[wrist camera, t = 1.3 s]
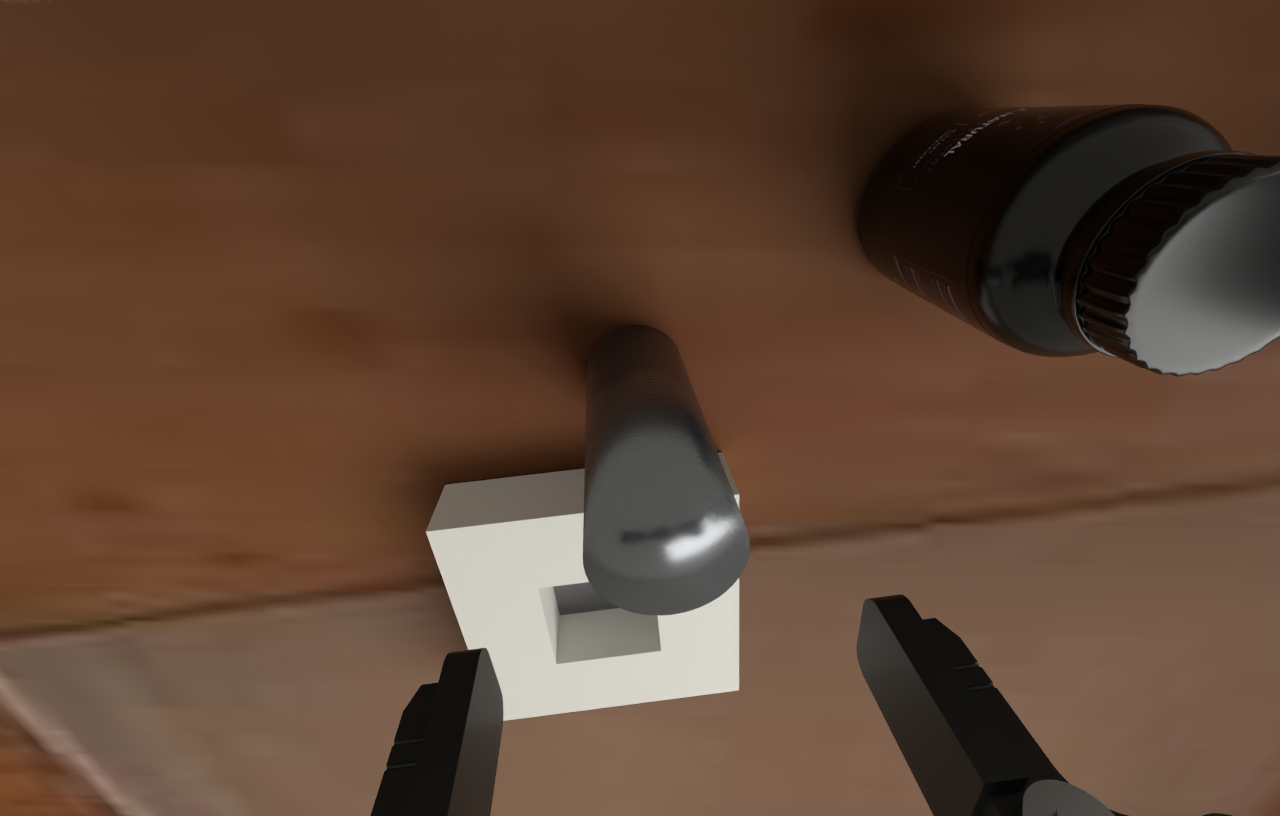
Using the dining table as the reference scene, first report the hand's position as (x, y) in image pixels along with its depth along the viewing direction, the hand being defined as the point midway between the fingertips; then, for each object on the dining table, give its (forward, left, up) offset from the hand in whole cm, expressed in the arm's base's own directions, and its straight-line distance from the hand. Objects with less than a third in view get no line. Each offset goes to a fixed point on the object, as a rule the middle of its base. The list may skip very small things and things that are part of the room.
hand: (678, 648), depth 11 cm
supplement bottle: (-13, -6, -15) cm, 21 cm away
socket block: (+3, +12, -15) cm, 19 cm away
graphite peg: (0, 0, -15) cm, 15 cm away
